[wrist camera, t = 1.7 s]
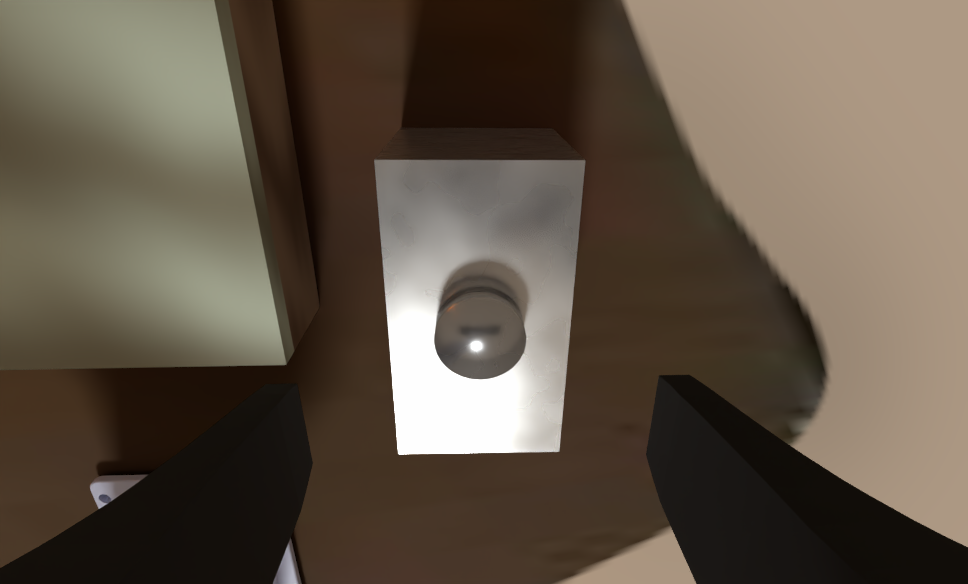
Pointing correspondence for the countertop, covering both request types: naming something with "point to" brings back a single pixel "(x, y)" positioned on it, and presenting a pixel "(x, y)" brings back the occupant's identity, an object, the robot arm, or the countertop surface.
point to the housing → (479, 284)
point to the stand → (148, 187)
